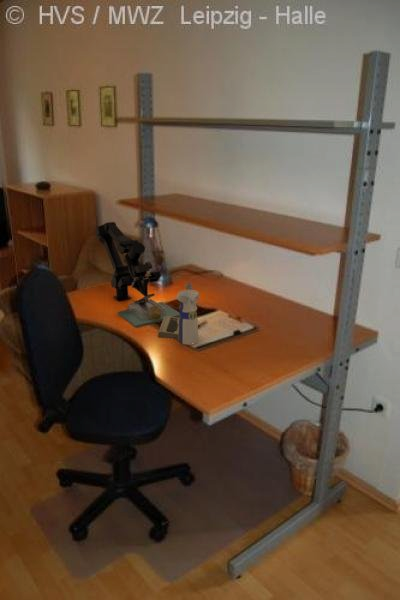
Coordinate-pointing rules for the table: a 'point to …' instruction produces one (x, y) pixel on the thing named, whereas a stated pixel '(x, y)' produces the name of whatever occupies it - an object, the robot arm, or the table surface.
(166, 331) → the computer
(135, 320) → the board
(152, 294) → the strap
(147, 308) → the heat sink
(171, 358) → the table surface
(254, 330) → the table surface
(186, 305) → the water bottle
